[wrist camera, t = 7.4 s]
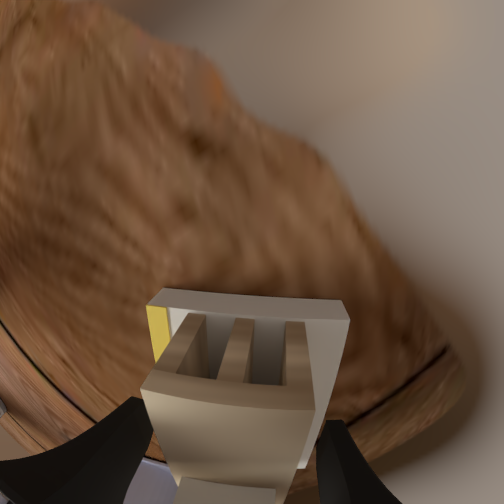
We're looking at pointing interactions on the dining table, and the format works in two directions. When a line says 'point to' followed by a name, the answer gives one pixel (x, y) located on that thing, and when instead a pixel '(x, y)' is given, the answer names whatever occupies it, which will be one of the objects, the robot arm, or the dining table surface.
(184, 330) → the slotted cream block
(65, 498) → the robot arm
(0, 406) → the travel mug
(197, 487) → the plain white block
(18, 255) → the dining table surface
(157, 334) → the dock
